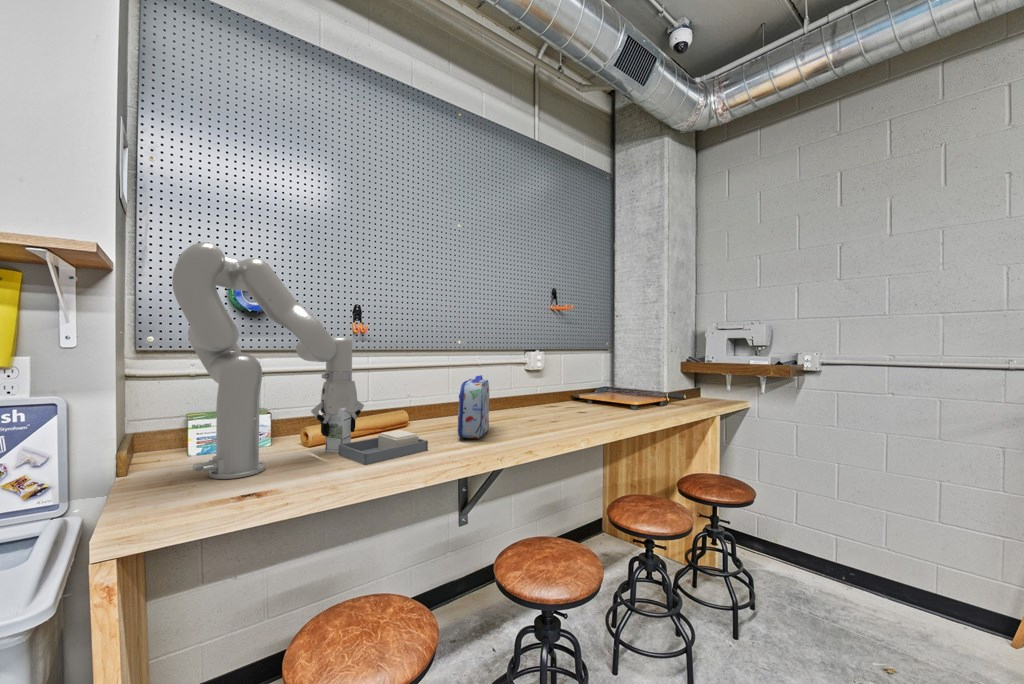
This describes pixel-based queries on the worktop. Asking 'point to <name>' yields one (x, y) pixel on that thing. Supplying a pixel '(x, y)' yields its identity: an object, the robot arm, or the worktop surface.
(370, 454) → the tray
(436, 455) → the worktop surface
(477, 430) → the lunch box
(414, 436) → the white lidded box
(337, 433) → the syrup box
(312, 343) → the robot arm
